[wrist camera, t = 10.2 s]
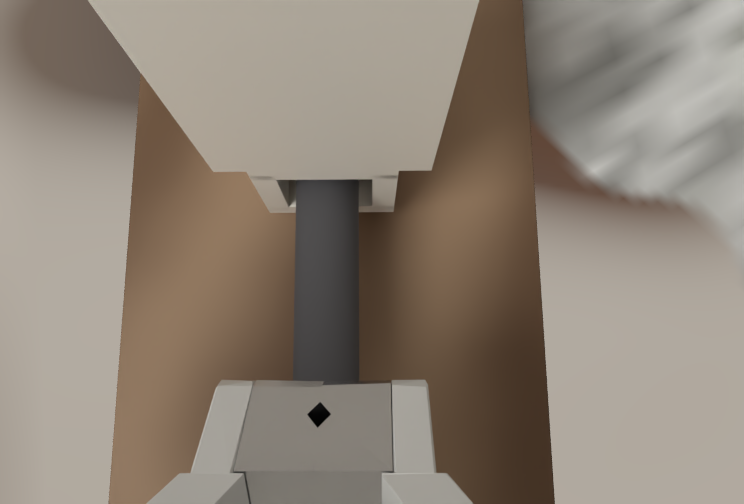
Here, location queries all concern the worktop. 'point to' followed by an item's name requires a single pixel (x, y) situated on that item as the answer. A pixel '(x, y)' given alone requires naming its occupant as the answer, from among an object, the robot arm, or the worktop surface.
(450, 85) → the sleeve
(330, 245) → the dark grey bar
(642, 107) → the worktop surface
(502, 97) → the board
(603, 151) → the worktop surface
